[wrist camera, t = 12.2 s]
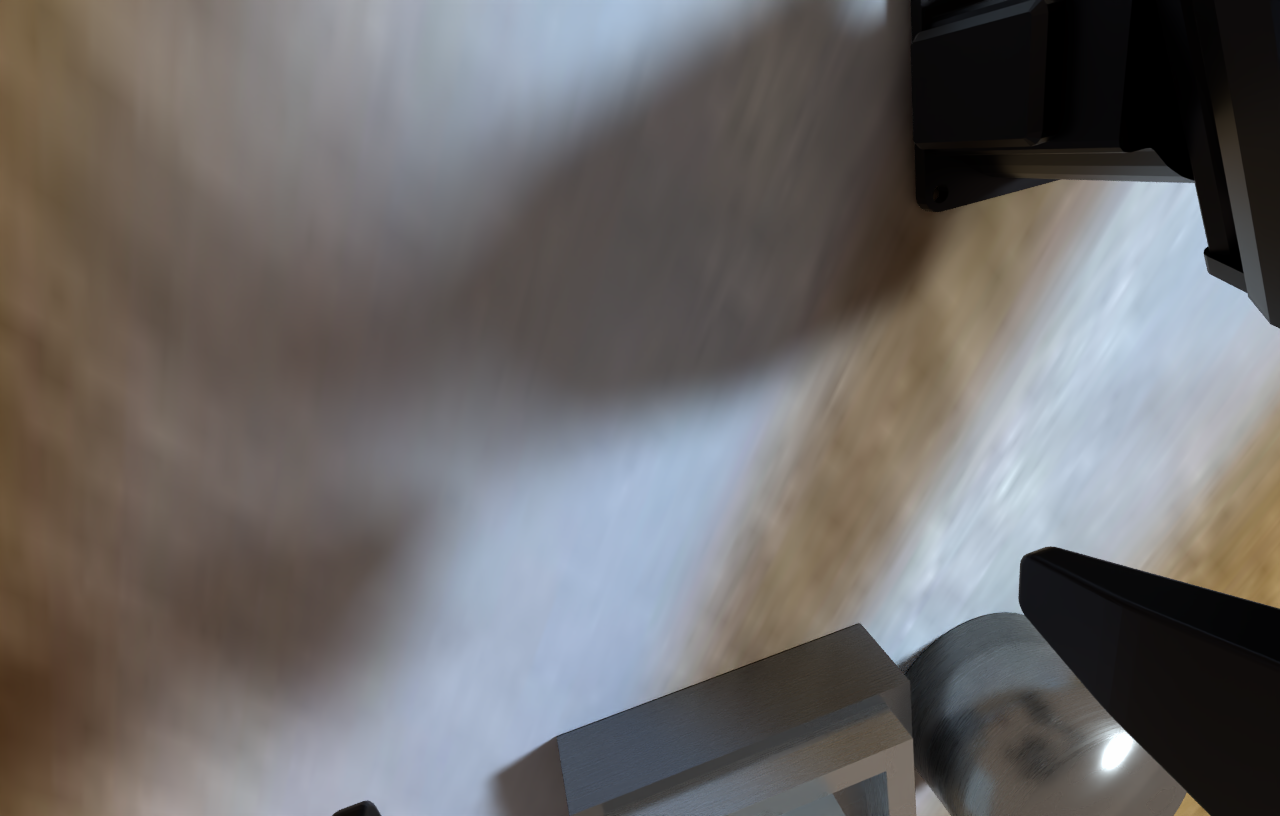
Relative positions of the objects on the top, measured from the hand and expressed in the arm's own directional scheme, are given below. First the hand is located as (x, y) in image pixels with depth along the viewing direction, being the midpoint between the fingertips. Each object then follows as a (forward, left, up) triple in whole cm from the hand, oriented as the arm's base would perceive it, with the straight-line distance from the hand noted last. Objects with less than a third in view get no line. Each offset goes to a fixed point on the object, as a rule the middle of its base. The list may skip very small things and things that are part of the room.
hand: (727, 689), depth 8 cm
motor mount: (-7, +18, -11) cm, 22 cm away
